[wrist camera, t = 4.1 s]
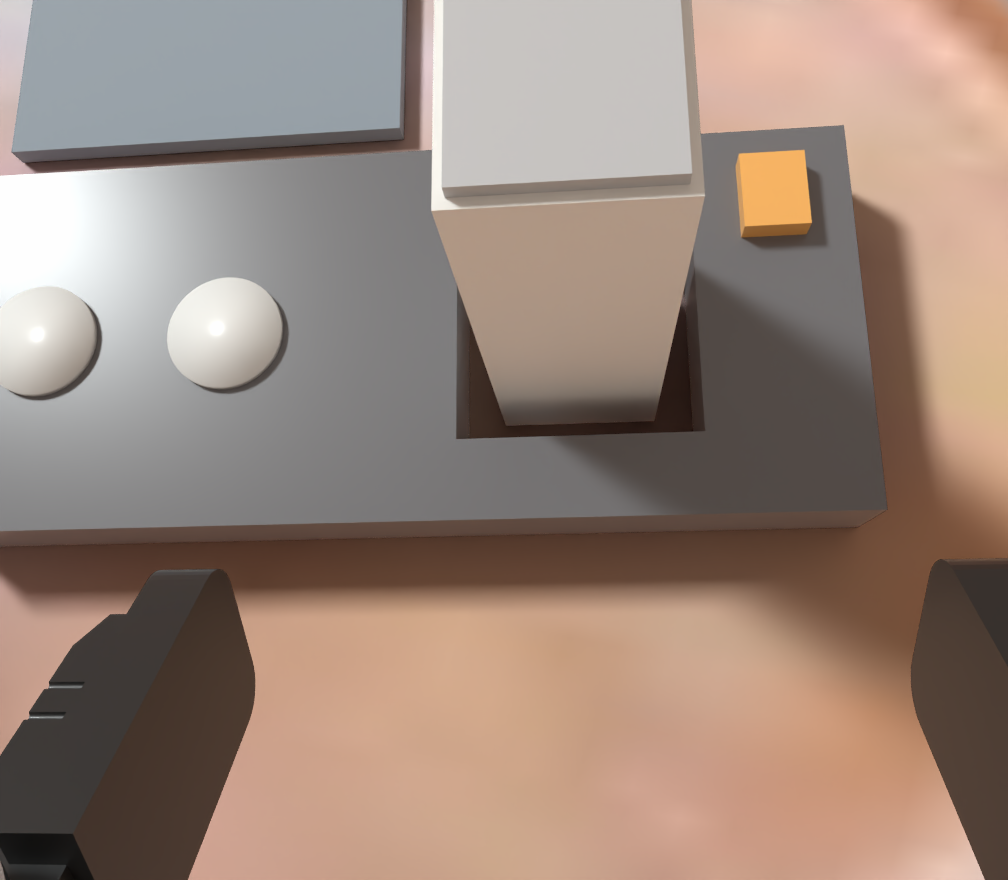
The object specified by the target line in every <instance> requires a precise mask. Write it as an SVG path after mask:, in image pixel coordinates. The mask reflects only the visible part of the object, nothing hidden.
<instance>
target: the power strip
mask: <svg viewBox="0 0 1008 880" xmlns="http://www.w3.org/2000/svg"><path fill="white" fill-rule="evenodd" d="M701 145H702V160H703V174H704V188H705V198H704V203H703V207H702V212H701V216H700V220H699V225H698V229H697V234H696V238H695V243H694V247H693V252H692V256H691V260H690V265H689V269H688V274H687V278H686V283H685V287H684V294H685V310H686V326H687V343H688V359H689V375H690V391H691V408H692V424H693V432H664V433H633V434H602V435H570V436H539V437H508V438H477V439H469V426H470V321H469V318H468V315H467V312H466V309H465V306H464V304H463V301H462V298H461V295H460V292H459V289H458V286H457V283H456V281H455V278H454V275H453V272H452V269H451V266H450V263H449V260H448V258H447V255H446V252H445V249H444V246H443V243H442V240H441V237H440V235H439V232H438V229H437V226H436V223H435V220H434V217H433V214H432V212H431V191H432V150H425V151H408V152H391V153H375V154H358V155H341V156H325V157H308V158H291V159H275V160H258V161H242V162H225V163H208V164H192V165H175V166H158V167H142V168H125V169H108V170H92V171H75V172H58V173H42V174H25V175H8V176H0V547H3V546H48V545H92V544H136V543H181V542H225V541H269V540H314V539H358V538H402V537H447V536H491V535H535V534H580V533H624V532H668V531H713V530H757V529H801V528H846V527H859V526H861V525H863V524H864V523H866V522H868V521H869V520H871V519H873V518H874V517H876V516H878V515H879V514H881V513H883V512H884V511H886V510H888V509H887V500H886V491H885V483H884V474H883V465H882V456H881V447H880V439H879V430H878V421H877V412H876V404H875V395H874V386H873V377H872V368H871V360H870V351H869V342H868V333H867V324H866V316H865V307H864V298H863V289H862V281H861V272H860V263H859V254H858V245H857V237H856V228H855V219H854V210H853V201H852V193H851V184H850V175H849V166H848V158H847V149H846V140H845V131H844V125H841V126H824V127H808V128H791V129H774V130H758V131H741V132H724V133H708V134H701Z"/></svg>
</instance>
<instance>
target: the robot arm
mask: <svg viewBox="0 0 1008 880" xmlns="http://www.w3.org/2000/svg"><path fill="white" fill-rule="evenodd" d="M911 688H912V696H913V702H914V707H915V711H916V714H917V717H918V720H919V723H920V725H921V728H922V730H923V732H924V735H925V737H926V740H927V742H928V744H929V747H930V749H931V752H932V754H933V756H934V759H935V761H936V763H937V766H938V768H939V771H940V773H941V775H942V778H943V780H944V783H945V785H946V787H947V790H948V792H949V795H950V797H951V799H952V802H953V804H954V807H955V809H956V811H957V814H958V816H959V819H960V821H961V823H962V826H963V828H964V830H965V833H966V835H967V838H968V840H969V842H970V845H971V847H972V850H973V852H974V854H975V857H976V859H977V862H978V864H979V866H980V869H981V871H982V874H983V876H984V878H985V880H1008V558H995V559H940V560H938V561H936V562H935V564H934V565H933V567H932V569H931V572H930V576H929V580H928V585H927V590H926V595H925V600H924V605H923V610H922V615H921V619H920V624H919V629H918V634H917V639H916V644H915V649H914V654H913V659H912V665H911ZM254 697H255V672H254V666H253V661H252V658H251V654H250V650H249V647H248V643H247V639H246V636H245V632H244V629H243V625H242V621H241V618H240V614H239V611H238V607H237V603H236V600H235V596H234V593H233V589H232V585H231V582H230V580H229V578H228V576H227V574H226V573H225V572H224V571H223V570H221V569H195V570H158V571H156V572H154V573H153V574H152V575H151V576H150V577H149V579H148V580H147V582H146V583H145V585H144V587H143V588H142V590H141V591H140V593H139V595H138V596H137V598H136V600H135V601H134V603H133V605H132V606H131V608H130V609H129V611H128V613H127V614H110V615H109V616H108V617H107V618H106V619H104V620H103V621H102V622H101V623H100V624H98V625H97V626H96V627H95V628H94V629H92V630H91V631H90V632H89V633H88V634H86V635H85V636H84V637H83V638H82V639H80V640H79V641H78V642H77V643H76V644H74V645H73V646H72V648H71V649H70V651H69V652H68V654H67V655H66V657H65V658H64V660H63V661H62V663H61V664H60V666H59V667H58V669H57V670H56V672H55V674H54V675H53V677H52V678H51V680H50V681H49V688H48V689H44V690H43V692H42V693H41V695H40V696H39V698H38V699H37V701H36V702H35V704H34V705H33V707H32V708H31V710H30V711H29V714H30V716H29V719H28V720H24V721H23V722H22V724H21V725H20V727H19V728H18V730H17V731H16V733H15V734H14V736H13V737H12V739H11V740H10V742H9V743H8V745H7V746H6V748H5V749H4V751H3V752H2V754H1V755H0V880H188V878H189V875H190V872H191V870H192V867H193V865H194V862H195V859H196V857H197V854H198V852H199V849H200V847H201V844H202V841H203V839H204V836H205V834H206V831H207V829H208V826H209V823H210V821H211V818H212V816H213V813H214V810H215V808H216V805H217V803H218V800H219V798H220V795H221V792H222V790H223V787H224V785H225V782H226V780H227V777H228V774H229V772H230V769H231V767H232V764H233V761H234V759H235V756H236V754H237V751H238V749H239V746H240V743H241V741H242V738H243V736H244V733H245V731H246V728H247V725H248V723H249V720H250V717H251V714H252V710H253V704H254Z"/></svg>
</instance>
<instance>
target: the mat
mask: <svg viewBox="0 0 1008 880" xmlns="http://www.w3.org/2000/svg"><path fill="white" fill-rule="evenodd" d="M406 9H407V0H33V4H32V11H31V18H30V25H29V32H28V39H27V46H26V53H25V60H24V67H23V74H22V81H21V89H20V96H19V103H18V110H17V117H16V124H15V131H14V138H13V145H12V153H13V154H14V155H15V156H16V157H17V158H19V159H20V160H21V161H22V162H23V163H25V162H42V161H58V160H74V159H91V158H107V157H123V156H140V155H156V154H172V153H189V152H205V151H221V150H238V149H254V148H270V147H287V146H303V145H319V144H336V143H352V142H368V141H385V140H401V139H404V100H405V54H406Z"/></svg>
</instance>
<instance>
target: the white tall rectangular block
mask: <svg viewBox="0 0 1008 880" xmlns="http://www.w3.org/2000/svg"><path fill="white" fill-rule="evenodd" d="M704 198H705V188H704V174H703V160H702V145H701V131H700V116H699V102H698V88H697V73H696V59H695V44H694V30H693V16H692V1H691V0H434V37H433V114H432V191H431V212H432V214H433V217H434V220H435V223H436V226H437V229H438V232H439V235H440V237H441V240H442V243H443V246H444V249H445V252H446V255H447V258H448V260H449V263H450V266H451V269H452V272H453V275H454V278H455V281H456V283H457V286H458V289H459V292H460V295H461V298H462V301H463V304H464V306H465V309H466V312H467V315H468V318H469V321H470V324H471V327H472V329H473V332H474V335H475V338H476V341H477V344H478V347H479V350H480V352H481V355H482V358H483V361H484V364H485V367H486V370H487V373H488V375H489V378H490V381H491V384H492V387H493V390H494V393H495V396H496V398H497V401H498V404H499V407H500V410H501V413H502V416H503V419H504V421H505V424H506V426H518V425H548V424H578V423H608V422H638V421H654V420H655V416H656V412H657V407H658V403H659V398H660V394H661V389H662V385H663V380H664V376H665V372H666V367H667V363H668V358H669V354H670V349H671V345H672V340H673V336H674V332H675V327H676V323H677V318H678V314H679V309H680V305H681V300H682V296H683V292H684V287H685V283H686V278H687V274H688V269H689V265H690V260H691V256H692V252H693V247H694V243H695V238H696V234H697V229H698V225H699V220H700V216H701V212H702V207H703V203H704Z"/></svg>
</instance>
